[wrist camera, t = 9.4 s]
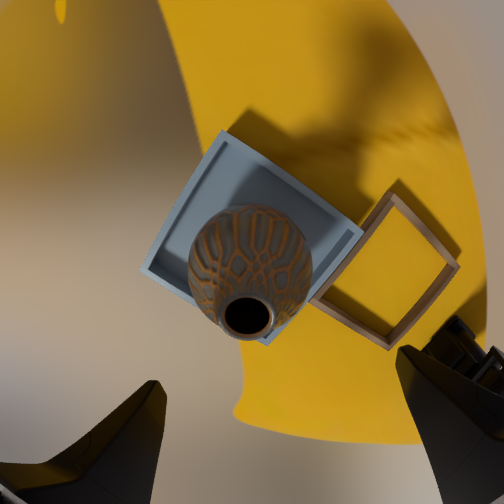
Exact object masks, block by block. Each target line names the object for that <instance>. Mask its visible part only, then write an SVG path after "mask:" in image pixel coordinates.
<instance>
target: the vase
mask: <svg viewBox="0 0 504 504" xmlns="http://www.w3.org/2000/svg"><path fill="white" fill-rule="evenodd" d="M187 273H188V282H189V286H190V290H191V293H192V296H193V298H194V300H195V302H196V304H197V305H198V307H199V308H200V310H201V311H202V312H203V313H204V314H205V315H206V316H207V317H208V318H209V319H210V320H211V321H212V322H214V323H215V324H217V325H218V326H220V327H221V328H222V329H223V331H224V332H226V333H227V334H228V335H230V336H231V337H234V338H236V339H239V340H245V341H251V340H257V339H260V338H262V337H264V336H266V335H268V334H269V333H270V332H271V331H272V330H274V329H276V328H278V327H280V326H282V325H283V324H285V323H286V322H287V321H289V320H290V319H291V318H292V317H293V316H294V315H295V314H296V313H297V312H298V311H299V309H300V308H301V306H302V305H303V303H304V302H305V300H306V298H307V295H308V293H309V290H310V286H311V282H312V275H313V262H312V255H311V251H310V247H309V245H308V242H307V240H306V238H305V236H304V234H303V233H302V231H301V230H300V228H299V227H298V226H297V225H296V223H295V222H294V221H293V220H292V219H291V218H289V217H288V216H287V215H286V214H284V213H283V212H281V211H279V210H278V209H275V208H273V207H271V206H267V205H263V204H258V203H243V204H237V205H233V206H230V207H228V208H225V209H223V210H222V211H220V212H218V213H217V214H215V215H214V216H213V217H211V218H210V219H209V220H208V221H207V222H206V223H205V224H204V225H203V227H202V228H201V229H200V230H199V232H198V234H197V235H196V237H195V239H194V241H193V243H192V245H191V248H190V252H189V257H188V266H187Z"/></svg>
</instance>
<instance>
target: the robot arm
mask: <svg viewBox="0 0 504 504" xmlns="http://www.w3.org/2000/svg"><path fill="white" fill-rule="evenodd" d="M475 337H476V336H475V335H474V334H473V333H472V331H471V330H470V329H469V328H468V327H467V326H466V325H465V324H464V322H463V321H462V320H461V319H460V318H459V317H458V316H457V315H455V316H454V317H453V318H452V319H451V320H450V321H449V322H448V323H447V325H446V326H445V327H444V328H443V329H442V330H441V332H440V333H439V334H438V335H437V336H436V337H435V338H434V339H433V340H432V341H431V342H430V344H429V345H428V346H427V347H426V348H425V349H424V350H423V351H422V352H421V351H419V350H418V349H416V348H414V347H413V346H411V345H404V346H401V347H399V348H398V352H397V357H396V363H395V365H396V370H397V373H398V376H399V380H400V383H401V386H402V390H403V393H404V396H405V399H406V402H407V405H408V407H409V410H410V412H411V414H412V417H413V419H414V422H415V424H416V427H417V429H418V432H419V434H420V437H421V439H422V442H423V445H424V447H425V450H426V453H427V455H428V458H429V461H430V464H431V467H432V469H433V473H434V475H435V478H436V482H437V485H438V488H439V492H440V495H441V498H442V501H443V504H504V353H503V352H502V351H500V350H499V349H498V348H496V347H495V346H492V347H491V348H490V351H489V352H488V354H486V353H485V352H484V351H483V349H482V348H481V347H480V346H479V345H478V344H477V342H476V341H475V340H474V339H475ZM501 367H502V369H501V370H500V368H501ZM166 405H167V395H166V393H165V391H164V389H163V387H162V386H161V384H160V382H159V381H157V380H149V381H147V382H146V383H145V384H144V385H143V386H141V387H140V388H139V389H138V390H137V391H136V392H134V393H133V394H132V395H131V396H130V397H129V398H128V399H126V400H125V401H124V402H123V403H122V404H121V405H119V406H118V407H117V408H116V409H115V410H114V411H113V412H111V413H110V414H109V415H108V416H107V417H106V418H104V419H103V420H102V421H101V422H100V423H98V424H97V425H96V426H95V427H94V428H93V429H92V430H91V431H89V432H88V433H87V434H85V435H84V436H83V437H82V438H80V439H79V440H78V441H77V442H75V443H74V444H72V445H71V446H70V447H68V448H67V449H65V450H64V451H62V452H61V453H59V454H58V455H56V456H55V457H53V458H52V459H50V460H48V461H47V462H44V463H39V464H20V463H4V462H0V484H2V485H3V486H4V488H3V490H2V491H0V504H150V500H151V494H152V489H153V483H154V478H155V473H156V467H157V462H158V457H159V452H160V447H161V442H162V438H163V432H164V426H165V415H166Z"/></svg>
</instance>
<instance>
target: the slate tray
mask: <svg viewBox="0 0 504 504" xmlns="http://www.w3.org/2000/svg"><path fill="white" fill-rule="evenodd" d="M243 203H258V204H263V205H267V206H271V207H273V208H275V209H278V210H279V211H281V212H283V213H284V214H286V215H287V216H288V217H289V218H291V219H292V220H293V221H294V222H295V223H296V225H297V226H298V227H299V228H300V230H301V231H302V233H303V234H304V236H305V238H306V240H307V242H308V245H309V247H310V251H311V255H312V262H313V275H312V282H311V286H310V290H309V293H308V295H307V298H306V300H305V302H304V303H303V305H302V306H301V308H300V309H299V311H300V310H301V309H302V308H303V307H304V305H305V304H306V303H307V302H308V301H309V300H310V299H311V297H312V296H313V295H314V294H315V293H316V292H317V290H318V289H319V288H320V287H321V286H322V284H323V283H324V282H325V281H326V280H327V279H328V277H329V276H330V275H331V274H332V273H333V271H334V270H335V269H336V268H337V266H338V265H339V264H340V263H341V261H342V260H343V259H344V258H345V257H346V255H347V254H348V253H349V252H350V250H351V249H352V248H353V246H354V245H355V244H356V243H357V241H358V240H359V239H360V237H361V236H362V235H363V234H364V231H363V230H362V229H360V228H359V227H358V226H357V225H356V224H354V223H353V222H352V221H351V220H349V219H348V218H347V217H346V216H344V215H343V214H342V213H341V212H339V211H338V210H337V209H336V208H334V207H333V206H332V205H330V204H329V203H328V202H327V201H325V200H324V199H323V198H321V197H320V196H319V195H317V194H316V193H315V192H313V191H312V190H311V189H309V188H308V187H307V186H305V185H304V184H303V183H301V182H300V181H298V180H297V179H296V178H294V177H293V176H291V175H290V174H289V173H287V172H286V171H284V170H283V169H282V168H280V167H279V166H277V165H276V164H274V163H273V162H271V161H270V160H268V159H267V158H265V157H264V156H263V155H261V154H260V153H258V152H257V151H255V150H253V149H252V148H250V147H249V146H247V145H246V144H244V143H243V142H241V141H240V140H238V139H236V138H235V137H233V136H232V135H230V134H228V133H227V132H225V131H224V130H221V132H220V133H219V134H218V136H217V137H216V139H215V140H214V142H213V143H212V145H211V146H210V148H209V149H208V151H207V153H206V154H205V156H204V157H203V159H202V160H201V162H200V163H199V165H198V167H197V168H196V170H195V172H194V173H193V175H192V176H191V178H190V179H189V181H188V183H187V184H186V186H185V188H184V189H183V191H182V193H181V194H180V196H179V198H178V200H177V201H176V203H175V205H174V206H173V208H172V210H171V212H170V214H169V215H168V217H167V219H166V220H165V222H164V224H163V226H162V228H161V230H160V231H159V233H158V235H157V237H156V239H155V241H154V243H153V244H152V246H151V248H150V250H149V252H148V254H147V256H146V258H145V260H144V262H143V264H142V266H141V268H140V270H139V271H140V272H141V273H143V274H144V275H146V276H148V277H149V278H151V279H152V280H154V281H155V282H157V283H158V284H160V285H161V286H163V287H165V288H167V289H168V290H170V291H171V292H173V293H174V294H176V295H178V296H179V297H181V298H182V299H184V300H186V301H187V302H189V303H191V304H192V305H194V306H196V307H198V305H197V304H196V302H195V300H194V298H193V296H192V293H191V290H190V286H189V282H188V273H187V266H188V257H189V252H190V248H191V245H192V243H193V241H194V239H195V237H196V235H197V234H198V232H199V230H200V229H201V228H202V227H203V225H204V224H205V223H206V222H207V221H208V220H209V219H210V218H211V217H213V216H214V215H215V214H217V213H218V212H220V211H222V210H223V209H225V208H228V207H230V206H233V205H237V204H243ZM198 308H199V307H198ZM199 309H200V308H199ZM299 311H298V312H299ZM298 312H297V313H298ZM297 313H296V314H297ZM296 314H295V315H294V316H293V317H292V318H291V319H290V320H289V321H287V322H286V323H285V324H283V325H282V326H280V327H278V328H276V329H274V330H272V331H271V332H270V333H269V334H268V335H266V336H264V337H262V338H260V339H257V341H259V342H260V343H262V344H264V345H266V346H268V345H269V344H270V343H271V342H272V341H273V339H274V338H275V337H276V336H277V335H278V334H279V333H280V332H281V331H282V330H283V329H284V328H285V327H286V325H287V324H288V323H289V322H290V321H291V320H292V319H293V318H294V317H295V316H296Z"/></svg>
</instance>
